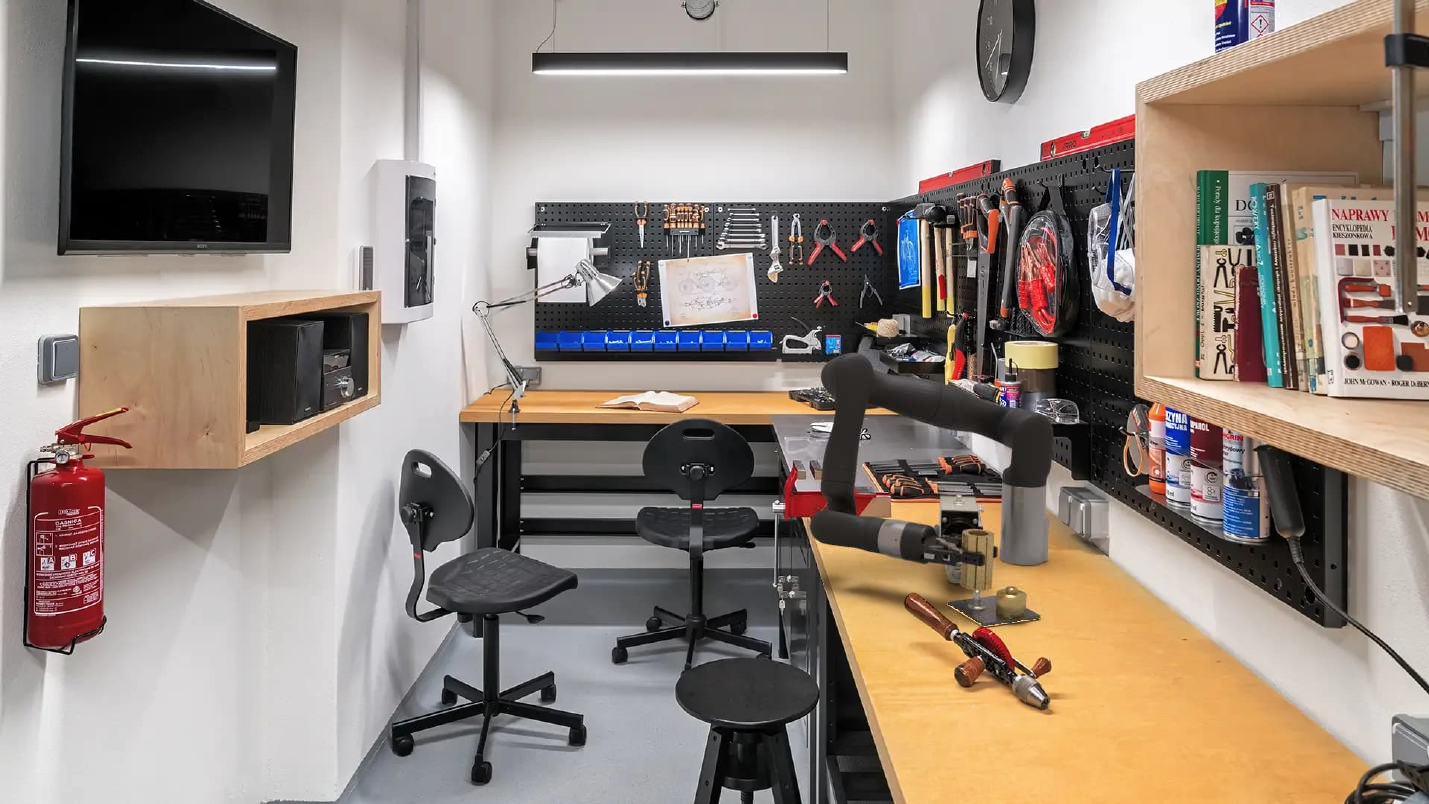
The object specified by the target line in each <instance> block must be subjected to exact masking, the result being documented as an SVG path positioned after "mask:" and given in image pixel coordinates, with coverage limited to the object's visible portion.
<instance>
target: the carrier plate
mask: <svg viewBox="0 0 1429 804" xmlns="http://www.w3.org/2000/svg"><path fill="white" fill-rule="evenodd" d="M972 591H973V593H972V595H973V596H972V598H965V599H957V600H950V601H947V604H948V605H950V606H953V607H954V608H955V609H958V610H959V611H960V612H963V613H964V614H965V615H967V616H968V617H970V618H972V619H973V620H975V621H976V622H978V623H981V625H982V626H988V625H995V624H1001V623H1012V622H1017V621H1021V620H1033V619H1039V618H1040V619H1041V617H1042V616H1041V615H1040V614H1039V613H1037V612H1035V611H1034V610H1032V609H1029V608H1027V607H1026V617H1025V618H1023V619H1018V620H1012V619H1005V618H1002V617H999V616H998V615H997V614H996V598H997V594H996V595H988V596H982V590H972ZM982 626H981V627H982Z"/></svg>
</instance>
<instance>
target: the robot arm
mask: <svg viewBox="0 0 1429 804" xmlns="http://www.w3.org/2000/svg"><path fill="white" fill-rule="evenodd" d="M820 381H821V384H822V386H823V388H824V389H825V391H826V392H827V393H828V394H829V395H830V396H832V397H834V398H835V409H834V410H835V411H834V412H835V413H834V418H833V424H832V427H831V430H830V434H829V436H828V440H827V443H826V446H825V450H824V453H823V454H824V455H823V459H822V465H821V466H822V468H821V477H820V492H821V494H822V495H823V496H824V497H825V498H826V502H827V504H826V505H827V509H822V510H819V511H818V512H816V513H815V514H814V515H813V516H812V517H811V520H810V524H809V530H810V533H811V535H812V536H813V538H814V539H815V540H816V541H817V542H819V543H821V544H823V545H827V546H828V545H829V546H834V547H835V546H836V547H843V548H852V549H858V550H862V551H865V552H868V553H874V554H879V555H884V556H887V557H889V558H894V559H898V560H902V561H907V562H913V563H915V564H917V563H918V564H921V565H926V564H928V563H930V564H938V565H942V566H943V565H944V566H945V565H951V566H956V563H957V564H964V563H966V564H971V565H976V566H984V565H985V555H984V554H981V553H975V552H970V551H965V552H964V550H962V535H960V534H956V533H952V535H951V536H949V535H942V537H938V536H937V535H936V533H935V530H934V528H933V527H934V526H933V525H930V524H923V523H920V522H912V521H907V520H901V519H888V518H882V517H876V516H865V515H863V516H861V515H858V514H857V512H858V511H857V503H856V497H855V488H856V477H857V466H858V459H859V458H858V457H859V449H860V448H859V447H860V440H861V435H862V429H863V424H864V419H865V416H866V410H867V406H868V405H870V406H875V407H878V408H879V407H880V408H881V409H885V410H887V411H890V412H893V413H895V414H897V415H901V416H904V417H906V418H908V419H911V420H914V421H917V422H919V423H923V424H926V425H929V426H933V427H936V428H938V429H939V428H941V429H943V430H949V431H954V432H955V431H956V432H966V433H973V434H975V435H980V436H982V437H985V438H987V439H989V440H992V441H994V442H997V443H999V444H1001V445H1003V446H1005V447H1006V448H1009V449H1011V459H1010V465H1009V466H1007V467H1005V468H1004V469H1003V471H1002V483H1001V487H1002V488H1001V510H1000V511H1001V514H1000V515H1001V517H1000V543H999V545H1000V547H999V548H998V546H996V545H994V550H993V559H996V558H997V557H998V556H999V558H1000V560H1001V561H1003V562H1005V563H1008V564H1013V565H1018V566H1036V565H1040V564H1042V563H1044V562H1048V558H1049V534H1050V519H1049V518H1048V517H1046V512H1047V509H1046V508H1047V506H1046V505H1047V485H1048V484H1047V482H1048V477H1049V475H1050V472H1051V469H1052V461H1053V450H1054V428H1053V425H1052V423H1051V421H1050V419H1049V418H1048V417H1047V416H1045V415H1043V414H1042V413H1039V412H1035V411H1032V410H1028V409H1024V408H1019V407H1018V408H1017V407H1011V406H1007V405H1000V404H996V403H992V402H989V401H985V400H982V399H981V398H979V397H976V396H974V395H973V394H970V393H969V392H966V391H964V390H962V389H960V388H957V387H955V386H953V385H952V386H951V385H948V384H945V383H941V382H938V381H936V380H932V379H927V378H920V377H913V376H904V375H895V374H889V373H884V372H882V371H878V370H875V369H874V367H873V364H872V362H871V360H870V359H869V358H868V357H866V356H865V355H863V354H862V353H858V352H849V353H845V354H841V355H838V356H836V357H834V358H832V359H831V360H829V361H828V362H827V363H825V365H824V366H823V367H822V370H821V373H820ZM959 548H960V549H959ZM998 552H999V553H998ZM998 554H999V555H998Z"/></svg>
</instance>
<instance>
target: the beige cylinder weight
mask: <svg viewBox="0 0 1429 804" xmlns="http://www.w3.org/2000/svg"><path fill="white" fill-rule="evenodd" d="M996 595H997V598H996V614H997V615H998V616H999V617H1002V618H1005V619H1012V620H1018V619H1023V618H1025V617H1026V608H1027V593H1026V592H1025V591H1023V590H1019V589H1018V587H1016V586H1010V585H1009V586H1005V588H1001V589H998V590H997V591H996Z"/></svg>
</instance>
